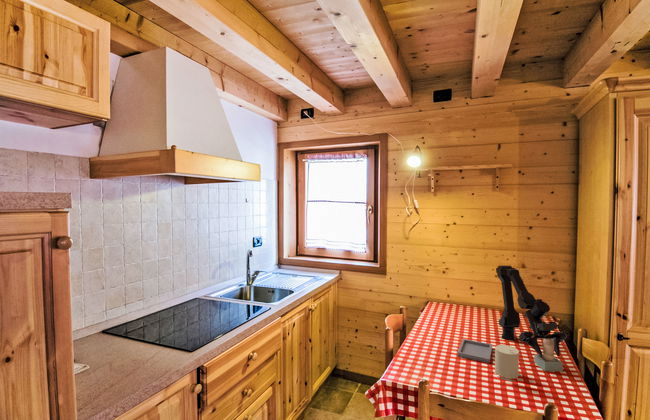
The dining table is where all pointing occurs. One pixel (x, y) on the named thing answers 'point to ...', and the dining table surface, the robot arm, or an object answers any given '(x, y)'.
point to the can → (506, 362)
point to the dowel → (548, 350)
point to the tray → (475, 350)
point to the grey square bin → (548, 363)
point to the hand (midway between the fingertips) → (550, 355)
